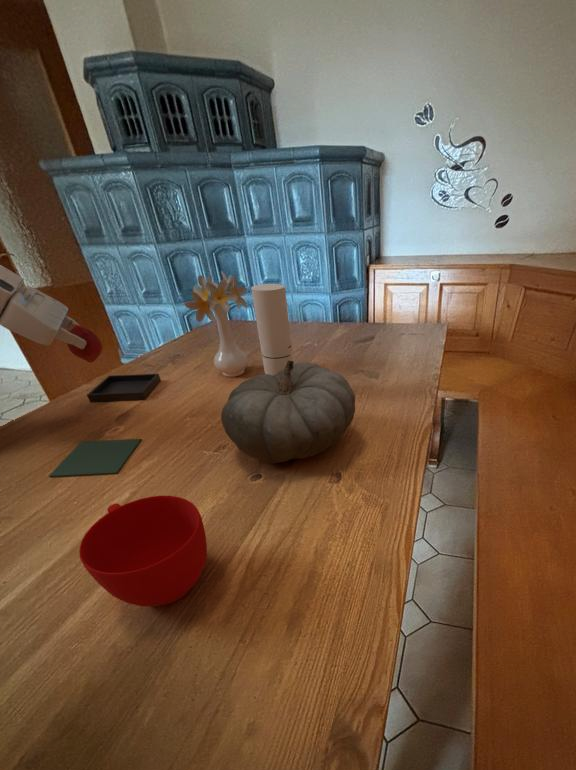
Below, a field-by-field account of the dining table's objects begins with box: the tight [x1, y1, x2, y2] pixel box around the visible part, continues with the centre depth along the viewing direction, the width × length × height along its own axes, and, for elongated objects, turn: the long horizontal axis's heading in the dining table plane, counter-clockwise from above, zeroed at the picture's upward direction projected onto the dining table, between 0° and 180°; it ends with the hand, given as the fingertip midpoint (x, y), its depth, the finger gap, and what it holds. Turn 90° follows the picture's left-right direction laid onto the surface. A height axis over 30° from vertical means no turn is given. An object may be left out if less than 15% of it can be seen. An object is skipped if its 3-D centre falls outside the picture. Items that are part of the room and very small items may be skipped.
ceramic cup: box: [78, 495, 208, 607], centre depth 49 cm, size 13×17×10 cm
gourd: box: [220, 360, 356, 464], centre depth 73 cm, size 25×25×17 cm
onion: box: [66, 322, 103, 363], centre depth 78 cm, size 6×6×8 cm
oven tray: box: [86, 373, 162, 403], centre depth 100 cm, size 13×12×2 cm
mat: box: [48, 438, 142, 478], centre depth 75 cm, size 12×12×1 cm
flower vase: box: [184, 270, 249, 378], centre depth 101 cm, size 13×18×25 cm
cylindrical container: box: [250, 283, 295, 376], centre depth 89 cm, size 7×7×25 cm
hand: (86, 340), depth 78 cm, fingers closed on onion, 6 cm apart
